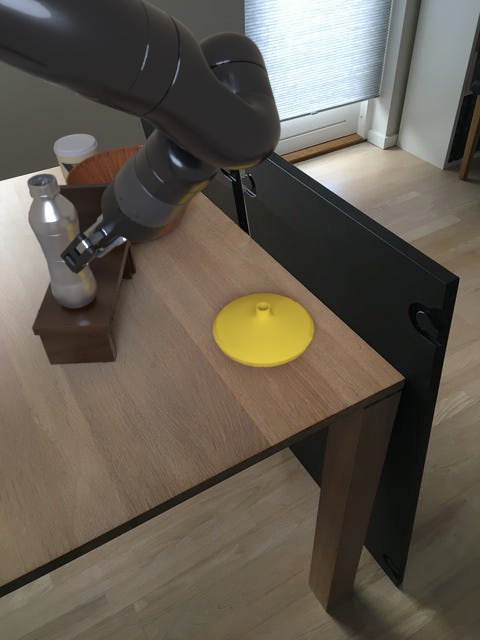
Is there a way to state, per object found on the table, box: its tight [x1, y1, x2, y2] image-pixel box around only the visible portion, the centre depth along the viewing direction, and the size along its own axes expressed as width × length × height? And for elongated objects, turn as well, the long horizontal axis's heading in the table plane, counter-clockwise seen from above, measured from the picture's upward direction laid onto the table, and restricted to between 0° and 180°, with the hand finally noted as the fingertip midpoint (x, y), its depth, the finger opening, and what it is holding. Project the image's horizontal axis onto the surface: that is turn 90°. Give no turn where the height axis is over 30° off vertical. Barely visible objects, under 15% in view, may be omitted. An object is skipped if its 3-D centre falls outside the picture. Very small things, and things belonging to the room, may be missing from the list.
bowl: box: [65, 144, 189, 244], centre depth 109 cm, size 25×25×11 cm
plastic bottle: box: [26, 173, 97, 308], centre depth 75 cm, size 6×7×20 cm
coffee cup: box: [53, 133, 99, 183], centre depth 120 cm, size 9×9×12 cm
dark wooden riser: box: [31, 183, 137, 365], centre depth 86 cm, size 24×11×18 cm, turn 1°
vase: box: [212, 292, 315, 368], centre depth 83 cm, size 16×16×7 cm
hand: (97, 250), depth 70 cm, fingers open, 8 cm apart
